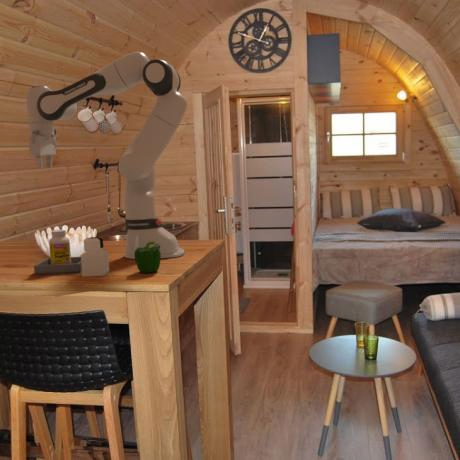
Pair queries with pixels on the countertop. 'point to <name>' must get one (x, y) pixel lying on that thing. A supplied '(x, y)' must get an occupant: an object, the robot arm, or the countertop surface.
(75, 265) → the tray
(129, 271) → the countertop surface
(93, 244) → the medicine bottle
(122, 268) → the countertop surface
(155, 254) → the bell pepper
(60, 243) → the supplement bottle
